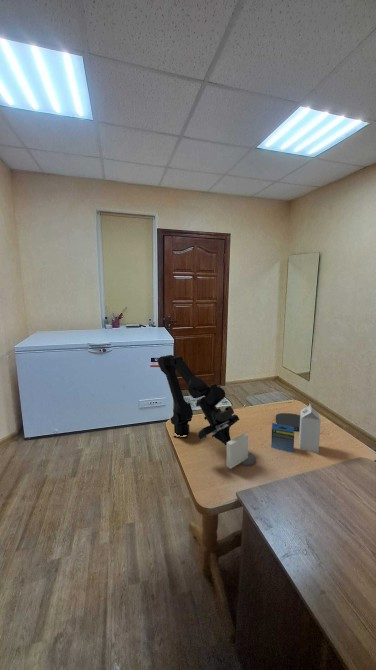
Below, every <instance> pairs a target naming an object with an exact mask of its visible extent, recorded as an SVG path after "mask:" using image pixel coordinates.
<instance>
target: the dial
mask: <svg viewBox="0 0 376 670" xmlns="http://www.w3.org/2000/svg"><path fill="white" fill-rule="evenodd" d="M255 463H256V457H255V455H253V453H251V452H249V434H246V433H245V432H244V433H242V434H240V435H238V436H236V437H234V438H232V439H231V440H230V441H229V442H227V446H226V463H225V464H226V467H227V468H229V469H230V470H231V469H232V468H235V467H236V466H237V465H239V464H240V465H242V466H248V467H249V466H252V465H254V464H255Z"/></svg>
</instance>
